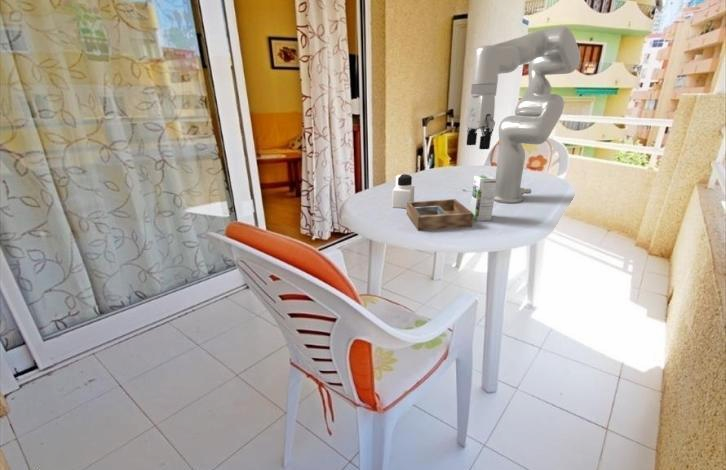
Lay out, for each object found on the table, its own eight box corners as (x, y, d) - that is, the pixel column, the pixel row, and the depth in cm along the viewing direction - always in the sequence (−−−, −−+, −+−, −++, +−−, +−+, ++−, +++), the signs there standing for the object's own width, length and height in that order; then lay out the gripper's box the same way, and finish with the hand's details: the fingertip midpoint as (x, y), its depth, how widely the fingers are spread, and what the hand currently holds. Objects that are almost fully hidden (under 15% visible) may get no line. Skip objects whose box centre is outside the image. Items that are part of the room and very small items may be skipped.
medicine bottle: (414, 203, 134) (414, 173, 130) (410, 209, 128) (411, 178, 123) (396, 202, 137) (396, 172, 132) (392, 207, 130) (392, 177, 126)
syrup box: (468, 215, 119) (472, 175, 114) (485, 214, 120) (489, 174, 114) (475, 221, 114) (479, 179, 108) (492, 220, 115) (497, 178, 109)
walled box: (454, 210, 125) (455, 199, 123) (471, 226, 110) (473, 213, 108) (406, 214, 123) (406, 202, 121) (417, 230, 108) (418, 217, 107)
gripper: (461, 91, 113) (456, 144, 119) (485, 90, 97) (478, 151, 103) (482, 91, 114) (476, 143, 120) (509, 90, 98) (501, 150, 104)
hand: (477, 146), depth 112 cm, fingers open, 9 cm apart
